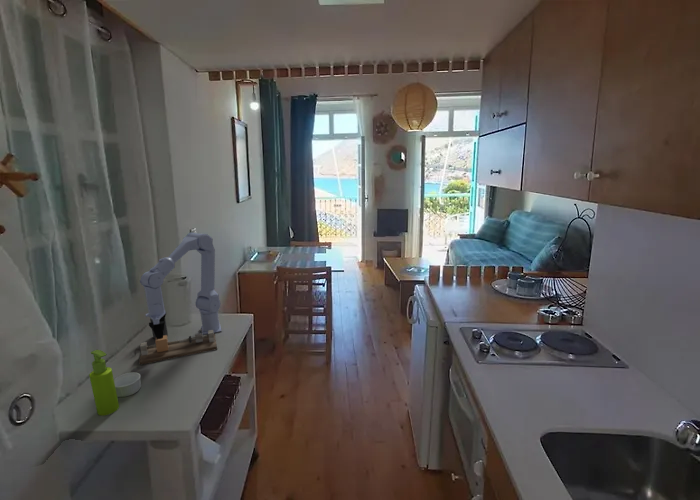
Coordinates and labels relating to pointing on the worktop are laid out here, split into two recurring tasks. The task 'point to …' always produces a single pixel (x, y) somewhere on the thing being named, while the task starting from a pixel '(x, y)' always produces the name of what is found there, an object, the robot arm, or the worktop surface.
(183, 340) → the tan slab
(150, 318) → the bottle
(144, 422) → the worktop surface
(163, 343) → the sleeve
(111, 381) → the soap dispenser
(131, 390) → the ramekin
